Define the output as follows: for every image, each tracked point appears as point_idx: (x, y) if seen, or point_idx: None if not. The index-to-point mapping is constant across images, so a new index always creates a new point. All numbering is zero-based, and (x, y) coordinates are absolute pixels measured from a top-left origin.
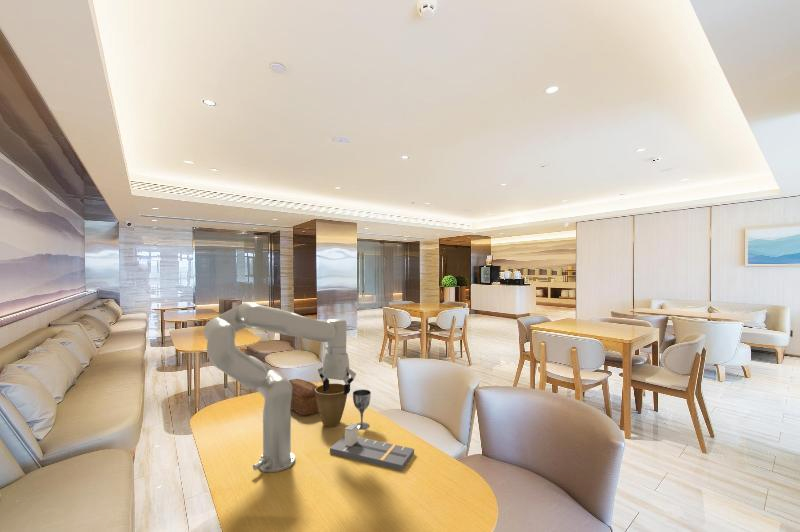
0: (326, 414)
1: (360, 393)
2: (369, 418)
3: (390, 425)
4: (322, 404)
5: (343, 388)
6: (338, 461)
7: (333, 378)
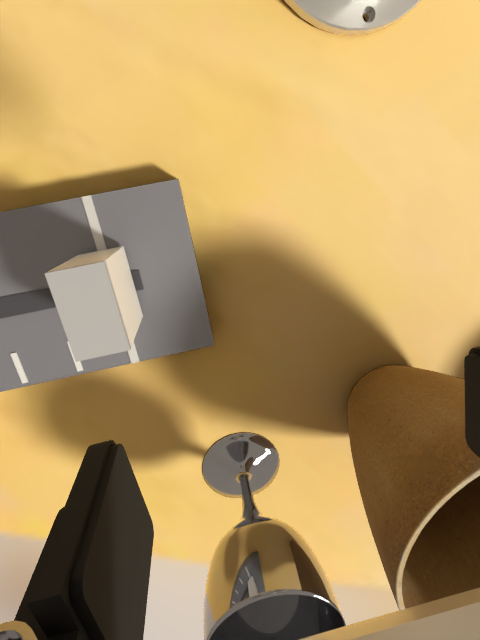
0: (409, 384)
1: None
2: None
3: None
4: None
5: None
6: (76, 142)
7: (427, 627)
